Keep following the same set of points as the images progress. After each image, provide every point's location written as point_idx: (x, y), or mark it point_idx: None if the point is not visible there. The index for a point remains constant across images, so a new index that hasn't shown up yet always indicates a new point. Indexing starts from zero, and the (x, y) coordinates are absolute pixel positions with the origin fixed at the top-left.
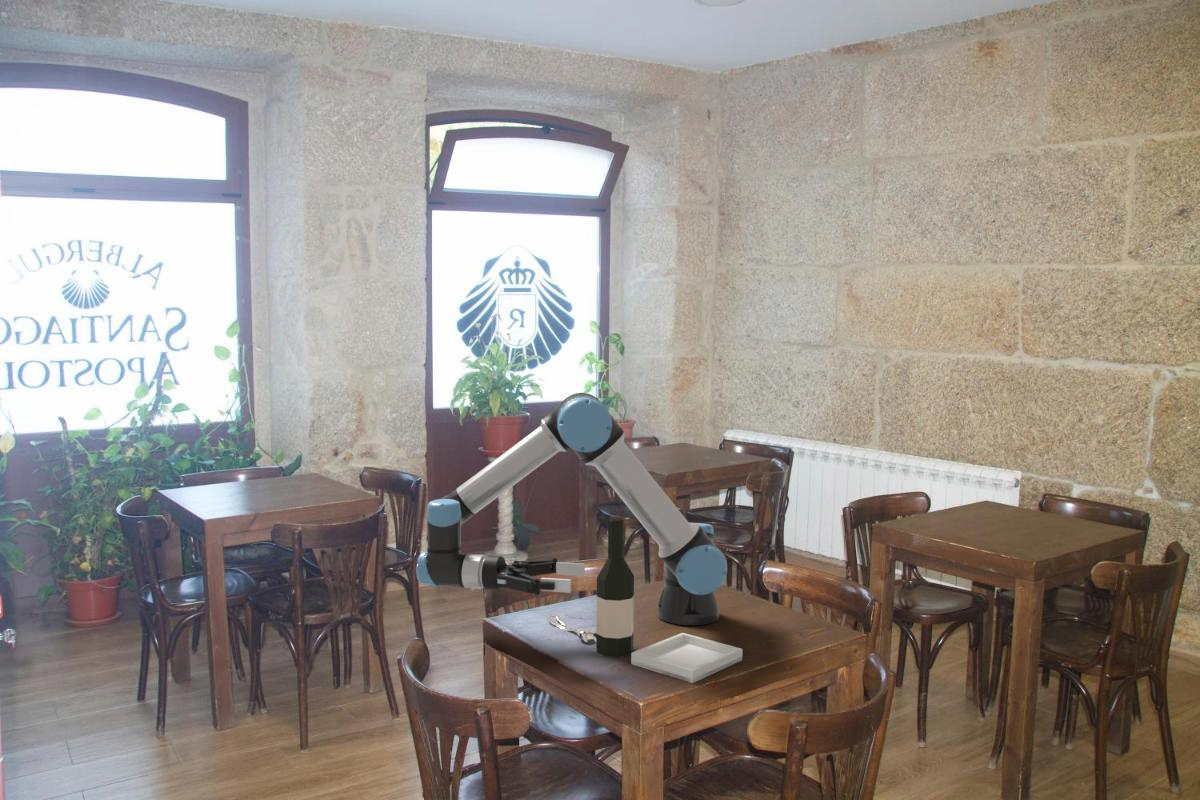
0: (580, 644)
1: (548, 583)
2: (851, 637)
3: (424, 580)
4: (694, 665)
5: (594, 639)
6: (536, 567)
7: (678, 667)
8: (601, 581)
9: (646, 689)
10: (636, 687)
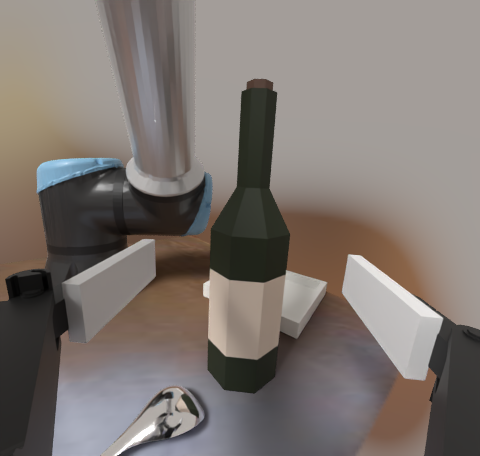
0: (204, 437)
1: (428, 305)
2: (193, 237)
3: None
4: (285, 287)
5: (193, 396)
6: (39, 409)
7: (322, 289)
8: (280, 240)
9: None
10: None
